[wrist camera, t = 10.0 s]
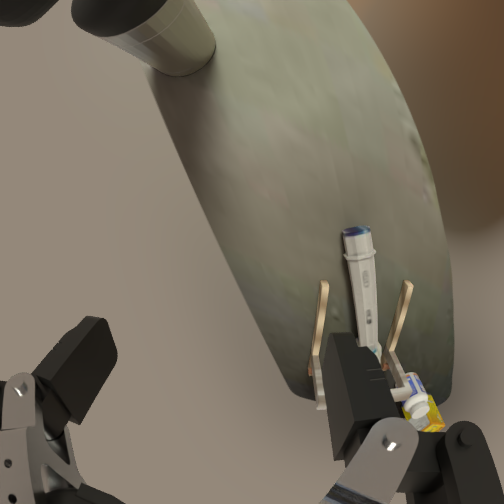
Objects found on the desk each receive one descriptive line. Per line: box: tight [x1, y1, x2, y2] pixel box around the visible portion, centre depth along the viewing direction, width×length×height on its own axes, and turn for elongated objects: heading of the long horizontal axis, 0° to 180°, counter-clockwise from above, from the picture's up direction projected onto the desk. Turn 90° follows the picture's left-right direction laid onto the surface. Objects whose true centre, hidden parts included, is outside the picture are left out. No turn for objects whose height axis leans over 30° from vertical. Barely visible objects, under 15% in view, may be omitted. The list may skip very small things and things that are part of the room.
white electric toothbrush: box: [342, 226, 381, 363], centre depth 39 cm, size 5×7×25 cm
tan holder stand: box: [308, 280, 413, 410], centre depth 37 cm, size 18×16×12 cm
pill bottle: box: [395, 372, 430, 419], centre depth 43 cm, size 5×5×10 cm
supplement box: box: [401, 393, 445, 432], centre depth 45 cm, size 6×6×11 cm
